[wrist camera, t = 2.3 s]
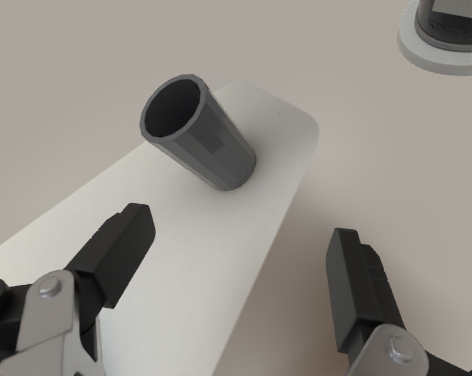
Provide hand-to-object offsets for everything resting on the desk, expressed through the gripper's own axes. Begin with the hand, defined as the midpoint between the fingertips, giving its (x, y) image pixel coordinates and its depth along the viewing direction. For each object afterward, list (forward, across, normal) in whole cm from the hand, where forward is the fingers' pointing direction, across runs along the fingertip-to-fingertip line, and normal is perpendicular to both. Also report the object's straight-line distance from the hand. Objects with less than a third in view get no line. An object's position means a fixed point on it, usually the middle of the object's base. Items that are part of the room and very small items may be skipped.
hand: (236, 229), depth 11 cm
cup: (+15, +4, +6) cm, 17 cm away
